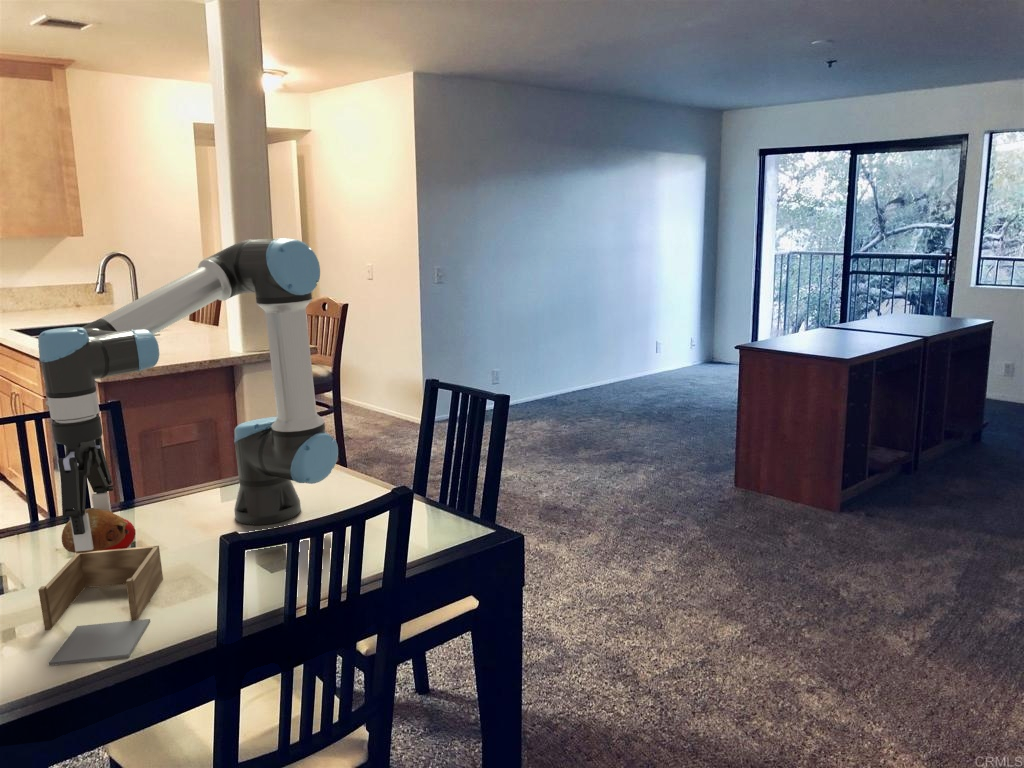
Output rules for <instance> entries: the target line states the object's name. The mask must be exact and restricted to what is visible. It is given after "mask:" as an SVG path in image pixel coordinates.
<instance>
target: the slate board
mask: <svg viewBox="0 0 1024 768" xmlns="http://www.w3.org/2000/svg"><path fill="white" fill-rule="evenodd" d="M150 623H151V618H144V619H137V620H133V621H131V620H126V621H125V620H123V621H115V622H114V621H113V622H106V623H95V624H84V625H82V624H81V625H76V627H75V628H74V629H73V631H71V633H70V635H69V636H68V637H67V638H66V640H65V641H64V642H63V643H62V645H61V646H60V647H59V649H58V650H57V651H56V653H55V654H54V655H53V656H52V657H51V659H50V660H49V661H48V666H59V665H69V664H78V663H86V662H95V661H104V660H105V661H106V660H113V659H114V660H115V659H116V660H117V659H122V658H123V659H124V658H130V656H131V655H132V653H133V651H134V650H135V648H136V646H137V644H138V643H139V641H140V640H141V638H142V636H143V634H144V633H145V631H146V630H147V628H148V626H149V625H150Z"/></svg>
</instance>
